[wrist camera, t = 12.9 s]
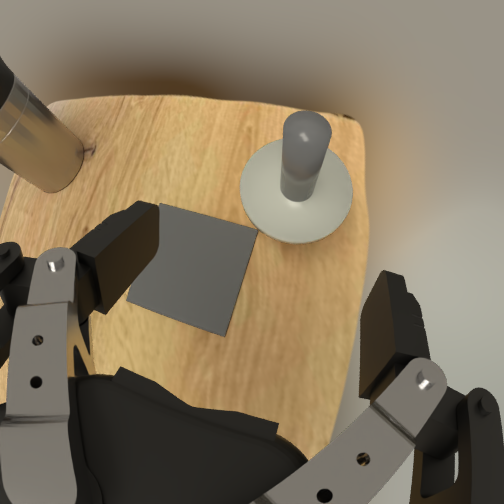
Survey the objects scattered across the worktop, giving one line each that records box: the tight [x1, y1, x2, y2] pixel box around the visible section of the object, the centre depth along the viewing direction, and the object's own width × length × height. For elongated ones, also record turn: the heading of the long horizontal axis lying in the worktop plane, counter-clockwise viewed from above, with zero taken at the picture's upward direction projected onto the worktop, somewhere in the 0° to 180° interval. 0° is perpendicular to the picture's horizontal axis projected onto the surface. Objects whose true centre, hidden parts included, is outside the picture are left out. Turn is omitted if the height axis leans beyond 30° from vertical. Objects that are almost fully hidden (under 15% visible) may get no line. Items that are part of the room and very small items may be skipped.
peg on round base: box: [240, 111, 353, 245], centre depth 23 cm, size 10×10×10 cm
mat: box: [126, 203, 258, 337], centre depth 34 cm, size 12×12×1 cm
